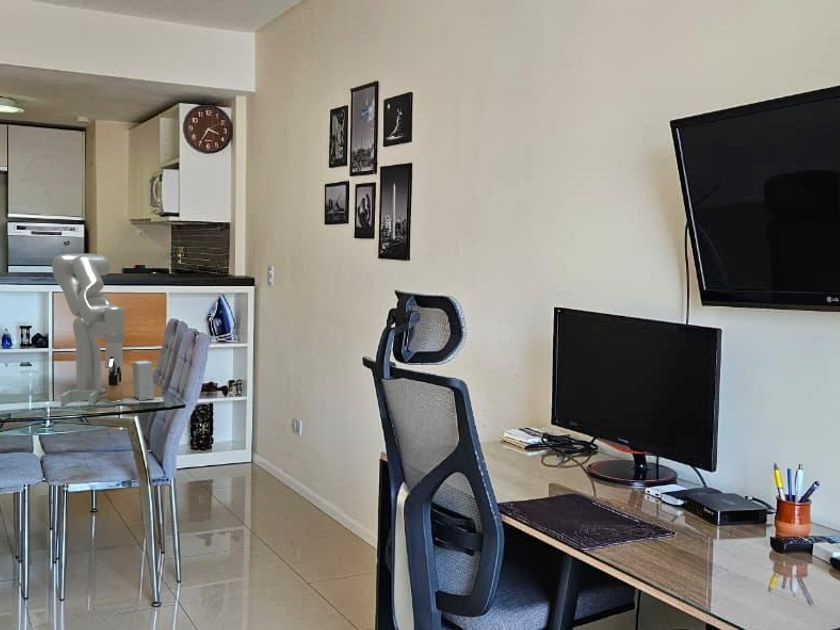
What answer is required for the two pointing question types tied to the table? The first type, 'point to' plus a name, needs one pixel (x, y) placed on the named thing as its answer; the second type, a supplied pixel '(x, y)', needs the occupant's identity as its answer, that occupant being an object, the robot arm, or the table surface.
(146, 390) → the skincare box
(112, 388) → the bottle
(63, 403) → the u rest
